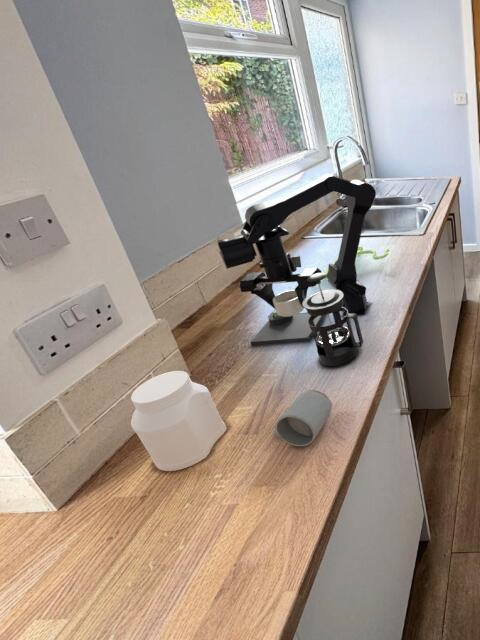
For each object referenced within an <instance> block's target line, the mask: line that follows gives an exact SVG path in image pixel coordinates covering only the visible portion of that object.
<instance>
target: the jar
mask: <svg viewBox="0 0 480 640" xmlns="http://www.w3.org/2000/svg"><path fill="white" fill-rule="evenodd" d="M130 400H131V402H132V404H133V406H134V407H135V410H133V413H132V416H131V421H130V427H131V429H132V430H133V432H134V433H135V434H136V435H137V437H138V439H139V440H140V442H141V443H142V444H143V446H144V448H145V450H146V452H147V453H148V454H149V456H150V458H151V459H152V460H151V461H152V462H153V464H154V466H155V467H156V468H157V469H158V470H159V471H162V472H163V471H164V472H173V471H174V472H175V471H180V470H183V469H186V468H189V467H192V466H194V465H197V463H200V462H202V461H203V460H204V459H206V458H207V457H208V456H209V454H210V453H211V450H212V448H213V447H214V445H215V444H216V443H217V441H218V440H219V439H220V438H221V437H222V436H223V435H224V434H225V433H226V431H227V426H226V424H225V422H224V420H223V419H222V417H221V415H220V413H219V410H218V408H217V407H216V404H215V403H214V400H213V398H212V395H211V393H210V390H209V388H208V387H207V386H205V385H203V384H200V383H197V382H195V381H192V379H191V377H190V375H189V373H187V372H186V371H184V370H172V371H168V372H165V373H161V374H158V375H156V376H153V377H151V378H150V379H148V380H146V381H144V382H142V383H141V384H140V385H139V386H138V387H136V388H135V389H134V391H133V392H132V393H131V396H130Z"/></svg>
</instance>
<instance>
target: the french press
mask: <svg viewBox="0 0 480 640" xmlns="http://www.w3.org/2000/svg"><path fill="white" fill-rule="evenodd" d="M326 277H327V274H326V273H316V274H313V275H311V276H309V277H308V278H307V280H308V281H309V282H316V283H317V284H316V285H318V288H319V291H317V292H314V293H312V294H310V295H307V298H306V299H305V300H304V301H303V303H302V304H303V307H304V309H305V310H306V313H307V312H308V314H310V315H311V316H310V317H309V319H308V324H309V327H310V329H311V330H312V334H313V336H312V338H313V340H314V343H315V347H316V352H317V356H318V362H319V365H320V366H321V367H323V368H325V369H333V370H334V369H338V368H342V367H345V366H348V365H349V364H351V363H352V362H354V361H355V360H356V359H357V358H358V356H359V353H360V349H359V348H361V347H362V346H363V344H364V339H363V335H362V331H361V327H360V322H359V318H358V315H357V314H356V313H353V314H348V310H347V309H346V308H344V307H342V306H343V297H344V294H343V292H342V291H340V290H335V289H334V288H331V289H323V290H322V287H321V284H322V282H321V281H323V280H325V278H326ZM341 312H342V313H343V312H345V313H347V315H346V316H343V318H342V316H341ZM331 314H332V317H333V321H334V323H332V322H331V318H330V315H331ZM323 315H326V316H327V320H328V323H329V325H324V326H319V327H316V326H315V325H314V321H313V320H314V319H315V318H317V317H318V316H323ZM350 319H352V320H353V322H354V327H355V330H356V334H357V339H358V341H357V340H356V338H355V336H354V331H353V328H352V327H353V326H352V324H351V320H350ZM345 324H346V325H345ZM339 348H350V349H348V350H347V351H345V352H343V353H340V354H338V355H335V353H334V350H336V349H339Z"/></svg>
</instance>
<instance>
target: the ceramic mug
mask: <svg viewBox="0 0 480 640" xmlns="http://www.w3.org/2000/svg"><path fill="white" fill-rule="evenodd" d="M332 410H333V403H332V401H331V399H330V398H329V397H328V396H327V395H326V394H325V393H323V392H321V391H319V390H316V389H314V390H313V389H310V390H306V391H304V392H302V393H300V394H299V396H297V397H296V398H295V399H294V401H293V402H292V403H291V404H290V406H289V407H288V408H286V410H285V411H284V412H283V413H282V414H281V416H279V418H278V419H277V421H276V423H275V426H274V427H273V430H272V431H273V433H274V434H275V435H276V437H278V438H280V439H281V440H282V441H284V442H285V443H287V444H288V445H291V446H296V447H307V446H310V445H311V444H312V443H313V442H314V441H315V439H316V437H318V434H319V433H320V432H321V430H322V428H323V427H324V425H325V422H327V420H328V418H329V417H330V415H331V412H332Z"/></svg>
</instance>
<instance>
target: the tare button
mask: <svg viewBox="0 0 480 640" xmlns="http://www.w3.org/2000/svg"><path fill="white" fill-rule="evenodd" d="M272 312H273V315H274V317H275V318H279V317H282V316H279V315H278V314H277V312H276V309H274V308H273V310H272Z"/></svg>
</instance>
